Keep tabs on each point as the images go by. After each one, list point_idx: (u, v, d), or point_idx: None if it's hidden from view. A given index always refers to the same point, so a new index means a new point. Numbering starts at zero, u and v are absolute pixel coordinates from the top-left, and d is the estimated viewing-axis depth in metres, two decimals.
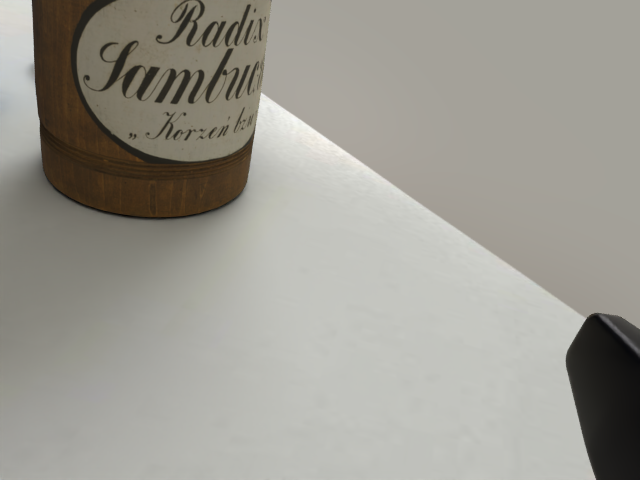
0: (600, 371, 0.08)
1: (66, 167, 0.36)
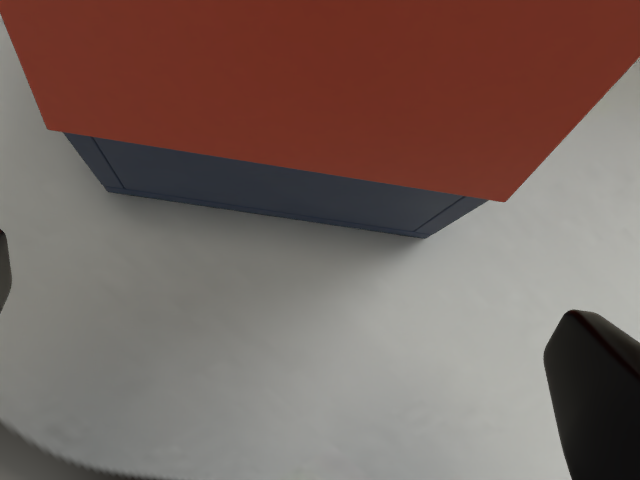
0: (576, 368, 0.08)
1: None
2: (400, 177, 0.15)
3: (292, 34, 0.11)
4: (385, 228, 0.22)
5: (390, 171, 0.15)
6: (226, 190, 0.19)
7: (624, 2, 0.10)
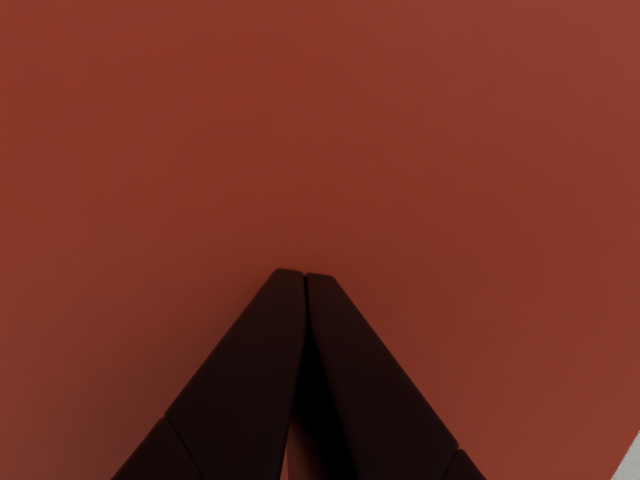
0: None
1: None
2: None
3: None
4: None
5: None
6: None
7: (603, 387, 0.09)
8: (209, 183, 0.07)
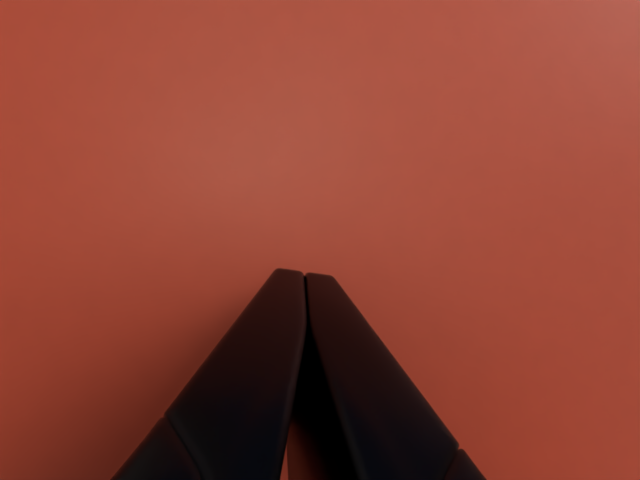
0: None
1: None
2: None
3: None
4: None
5: None
6: None
7: (600, 473, 0.09)
8: (200, 259, 0.08)
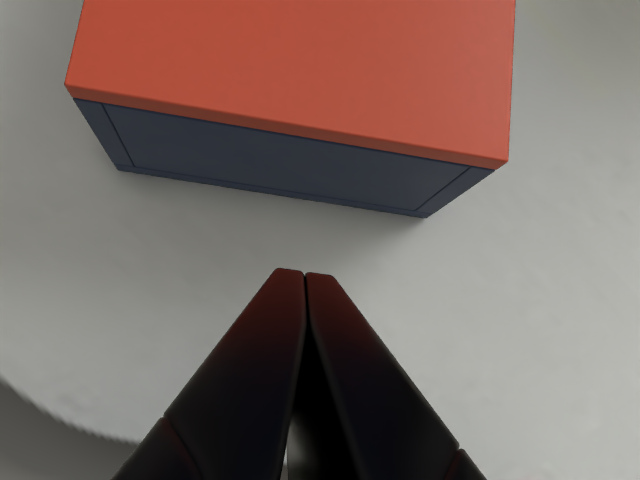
0: None
1: None
2: (403, 129, 0.16)
3: None
4: (387, 207, 0.22)
5: (392, 121, 0.16)
6: (233, 168, 0.20)
7: None
8: None
